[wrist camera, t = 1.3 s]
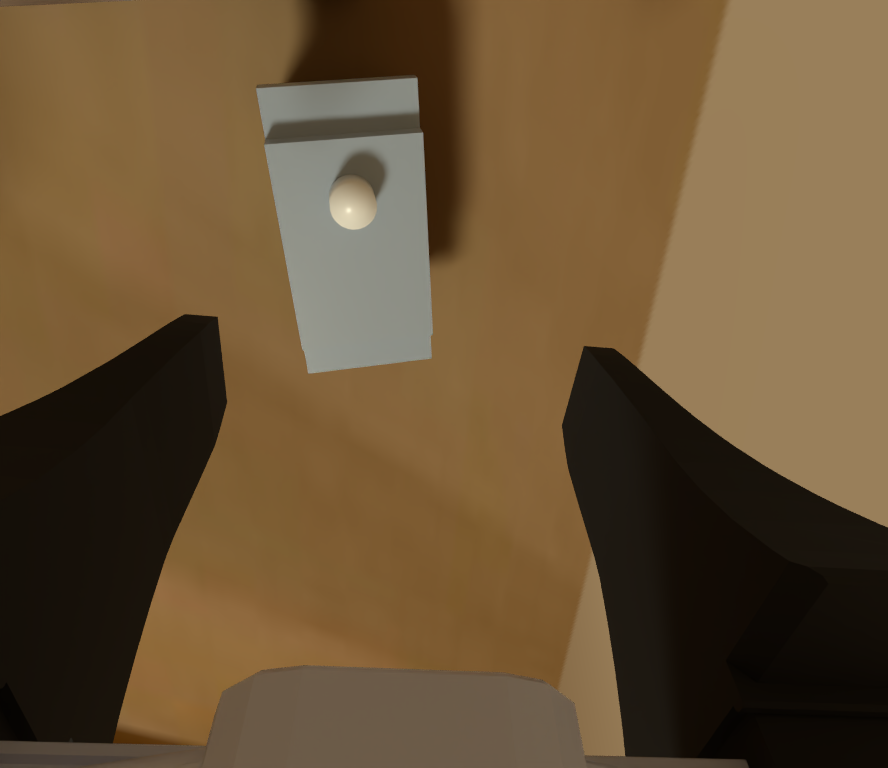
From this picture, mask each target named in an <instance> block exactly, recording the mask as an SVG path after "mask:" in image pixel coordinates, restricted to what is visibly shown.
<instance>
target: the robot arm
mask: <svg viewBox="0 0 888 768" xmlns="http://www.w3.org/2000/svg"><path fill="white" fill-rule="evenodd" d="M226 404H227V398H226V389H225V380H224V371H223V362H222V353H221V344H220V335H219V326H218V317H213V316H200V315H188V314H185V315H183V316H181V317H179V318H177V319H175V320H174V321H172V322H170V323H169V324H167V325H166V326H164V327H162V328H161V329H159V330H158V331H156V332H155V333H153V334H151V335H150V336H148V337H147V338H145V339H144V340H142V341H141V342H139V343H137V344H136V345H134V346H133V347H131V348H129V349H128V350H126V351H125V352H123V353H121V354H120V355H118V356H117V357H115V358H113V359H112V360H110V361H108V362H107V363H105V364H103V365H101V366H100V367H98V368H96V369H94V370H92V371H91V372H89V373H87V374H85V375H84V376H82V377H80V378H78V379H77V380H75V381H73V382H71V383H69V384H68V385H66V386H64V387H62V388H60V389H58V390H56V391H54V392H52V393H50V394H48V395H46V396H44V397H42V398H40V399H38V400H36V401H33V402H31V403H29V404H27V405H24V406H22V407H20V408H18V409H16V410H13V411H11V412H9V413H6V414H4V415H2V416H0V768H888V528H887V527H885V526H883V525H880V524H878V523H876V522H874V521H871V520H869V519H867V518H865V517H862V516H860V515H858V514H856V513H853V512H851V511H849V510H847V509H845V508H842V507H840V506H838V505H836V504H834V503H832V502H830V501H828V500H826V499H824V498H822V497H820V496H818V495H816V494H814V493H812V492H810V491H809V490H807V489H805V488H803V487H801V486H800V485H798V484H796V483H794V482H792V481H790V480H788V479H787V478H785V477H783V476H781V475H779V474H778V473H776V472H774V471H773V470H771V469H769V468H768V467H766V466H764V465H762V464H761V463H760V462H758V461H756V460H755V459H753V458H752V457H750V456H749V455H747V454H746V453H744V452H742V451H741V450H739V449H738V448H736V447H735V446H733V445H732V444H730V443H729V442H728V441H726V440H725V439H723V438H722V437H720V436H719V435H718V434H716V433H715V432H714V431H712V430H711V429H710V428H709V427H707V426H706V425H705V424H703V423H702V422H701V421H699V420H698V419H697V418H695V417H694V416H693V415H691V413H689V412H688V411H687V410H686V409H684V408H683V407H682V406H681V405H679V404H678V403H677V402H676V401H675V400H674V399H672V398H671V397H670V396H669V395H668V394H666V393H665V392H664V391H663V390H662V389H661V388H660V387H658V386H657V385H656V384H655V383H654V382H653V381H652V380H650V379H649V378H648V377H647V376H646V375H645V374H644V373H643V372H641V371H640V370H639V369H638V368H637V367H636V366H635V365H633V364H632V363H631V362H630V361H629V360H628V359H626V358H625V357H624V356H623V355H622V354H620V353H619V352H618V351H616V350H615V349H613V348H601V347H588V346H584V348H583V351H582V355H581V359H580V362H579V366H578V369H577V373H576V377H575V380H574V384H573V388H572V391H571V395H570V398H569V402H568V406H567V409H566V413H565V416H564V420H563V424H562V429H563V437H564V445H565V452H566V458H567V464H568V469H569V473H570V476H571V480H572V483H573V487H574V490H575V494H576V497H577V500H578V504H579V507H580V510H581V514H582V517H583V520H584V524H585V527H586V530H587V534H588V537H589V540H590V544H591V547H592V550H593V554H594V557H595V561H596V565H597V569H598V573H599V577H600V582H601V588H602V593H603V598H604V604H605V609H606V615H607V621H608V627H609V634H610V640H611V647H612V652H613V659H614V666H615V672H616V680H617V688H618V696H619V704H620V712H621V719H622V727H623V737H624V747H625V756H586V755H584V750H583V745H582V740H581V736H580V730H579V725H578V719H577V715H576V709H575V704H574V702H572V701H571V700H570V699H568V698H567V697H566V696H564V695H563V694H562V693H560V692H559V691H558V690H556V689H555V688H553V687H552V686H551V685H549V684H548V683H546V682H545V681H543V680H540V679H535V678H530V677H525V676H519V675H514V674H509V673H503V672H475V671H447V670H419V669H391V668H363V667H335V666H308V665H303V666H294V667H285V668H276V669H267V670H261V671H259V672H257V673H256V674H254V675H252V676H250V677H248V678H246V679H244V680H243V681H241V682H239V683H237V684H235V685H233V686H232V687H230V688H228V689H226V690H225V691H223V692H222V695H221V698H220V701H219V704H218V707H217V710H216V712H215V716H214V719H213V723H212V727H211V730H210V734H209V738H208V742H207V745H206V746H189V745H149V744H113V740H114V735H115V731H116V727H117V723H118V719H119V715H120V711H121V707H122V704H123V700H124V696H125V693H126V689H127V685H128V681H129V678H130V674H131V670H132V667H133V663H134V659H135V656H136V652H137V649H138V645H139V642H140V638H141V635H142V632H143V628H144V625H145V622H146V618H147V615H148V611H149V608H150V605H151V601H152V598H153V595H154V592H155V589H156V586H157V583H158V580H159V577H160V573H161V570H162V567H163V564H164V561H165V558H166V555H167V553H168V550H169V548H170V545H171V543H172V540H173V537H174V535H175V533H176V531H177V528H178V526H179V524H180V522H181V520H182V517H183V515H184V513H185V511H186V509H187V506H188V504H189V502H190V500H191V498H192V495H193V493H194V491H195V489H196V487H197V484H198V482H199V480H200V478H201V476H202V473H203V471H204V469H205V467H206V464H207V462H208V460H209V458H210V455H211V453H212V451H213V448H214V446H215V443H216V440H217V437H218V433H219V430H220V427H221V423H222V419H223V415H224V412H225V408H226Z"/></svg>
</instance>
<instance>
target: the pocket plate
mask: <svg viewBox="0 0 888 768" xmlns="http://www.w3.org/2000/svg"><path fill="white" fill-rule="evenodd" d="M109 1H130V0H0V7H2V6H24V5H45V4H66V3H88V2H109Z"/></svg>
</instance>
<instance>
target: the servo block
mask: <svg viewBox="0 0 888 768" xmlns="http://www.w3.org/2000/svg"><path fill="white" fill-rule="evenodd" d="M256 91H257V96H258V102H259V107H260V113H261V118H262V123H263V129H264V134H265V144H264V146H265V151H266V157H267V162H268V167H269V173H270V178H271V184H272V189H273V194H274V200H275V205H276V210H277V216H278V221H279V227H280V232H281V237H282V243H283V248H284V254H285V259H286V264H287V270H288V275H289V280H290V286H291V291H292V297H293V302H294V307H295V313H296V318H297V324H298V329H299V334H300V340H301V345H302V350H304V352H305V357H306V363H307V368H308V374H309V373H317V372H325V371H333V370H341V369H349V368H358V367H366V366H374V365H382V364H390V363H398V362H406V361H414V360H422V359H431V358H432V357H431V337H430V335H433V329H432V308H431V287H430V266H429V245H428V225H427V204H426V183H425V162H424V142H423V132H422V130H421V129H420V120H419V100H418V80H417V77H416V76H415V75H403V76H387V77H372V78H356V79H341V80H325V81H310V82H294V83H279V84H263V85H257V87H256Z"/></svg>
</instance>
